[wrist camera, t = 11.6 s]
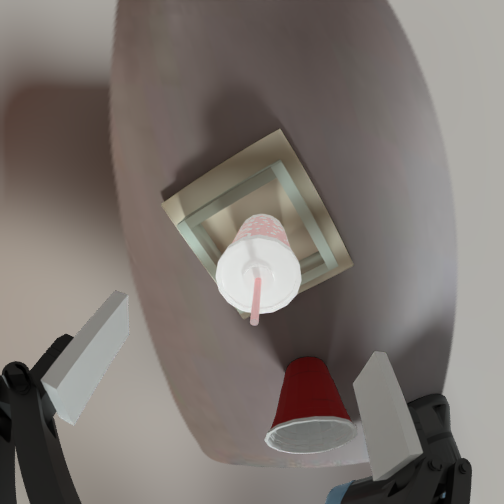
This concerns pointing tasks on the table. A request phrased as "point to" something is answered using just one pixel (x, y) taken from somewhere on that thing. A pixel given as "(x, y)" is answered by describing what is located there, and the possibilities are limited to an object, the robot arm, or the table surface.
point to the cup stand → (260, 210)
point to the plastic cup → (309, 411)
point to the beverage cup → (259, 268)
